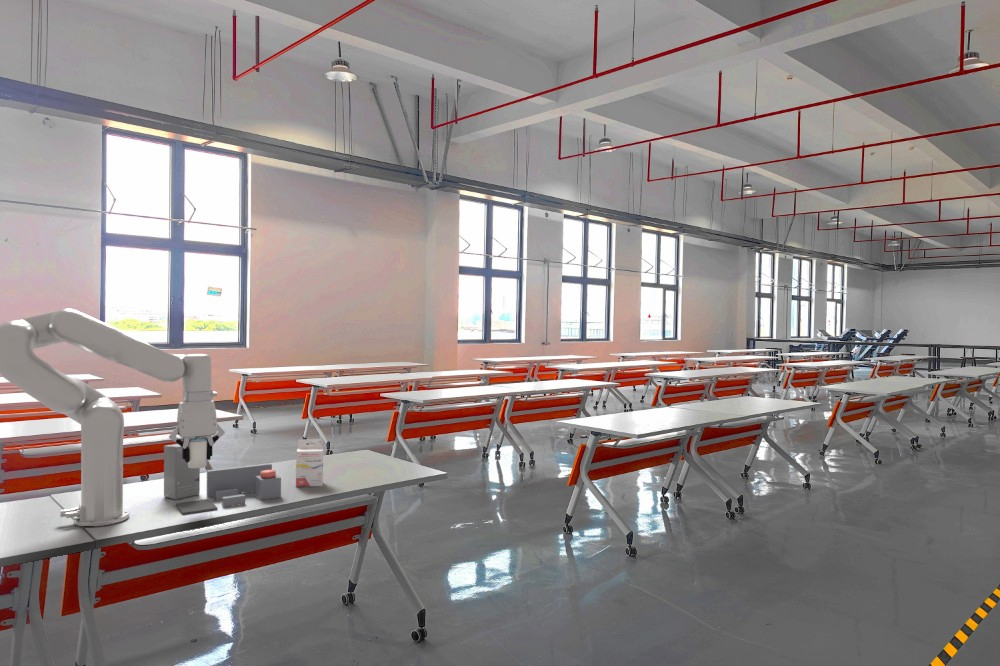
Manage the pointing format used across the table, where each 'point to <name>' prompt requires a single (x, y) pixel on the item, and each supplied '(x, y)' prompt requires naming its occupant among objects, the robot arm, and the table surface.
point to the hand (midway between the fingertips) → (197, 459)
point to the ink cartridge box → (309, 463)
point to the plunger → (268, 474)
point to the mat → (196, 506)
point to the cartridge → (197, 452)
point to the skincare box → (179, 475)
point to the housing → (241, 484)
